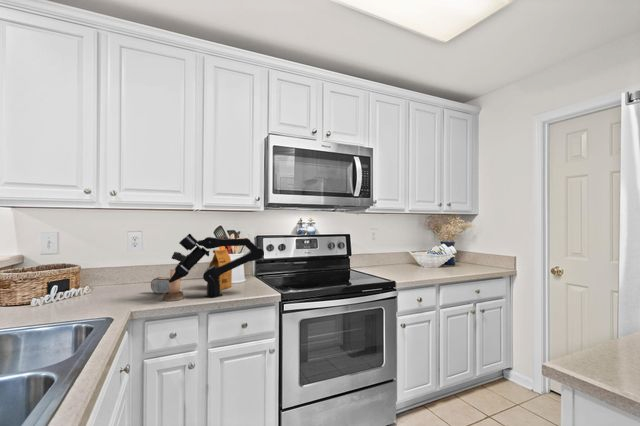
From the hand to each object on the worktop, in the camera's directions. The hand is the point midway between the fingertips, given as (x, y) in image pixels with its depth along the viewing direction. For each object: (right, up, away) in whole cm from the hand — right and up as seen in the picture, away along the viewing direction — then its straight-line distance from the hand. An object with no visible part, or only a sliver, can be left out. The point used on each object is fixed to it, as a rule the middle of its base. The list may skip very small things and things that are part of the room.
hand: (170, 280), depth 162 cm
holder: (+1, -9, 0) cm, 9 cm away
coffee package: (+17, -10, +25) cm, 32 cm away
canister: (+1, -8, 0) cm, 8 cm away
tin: (-9, -10, +13) cm, 19 cm away
